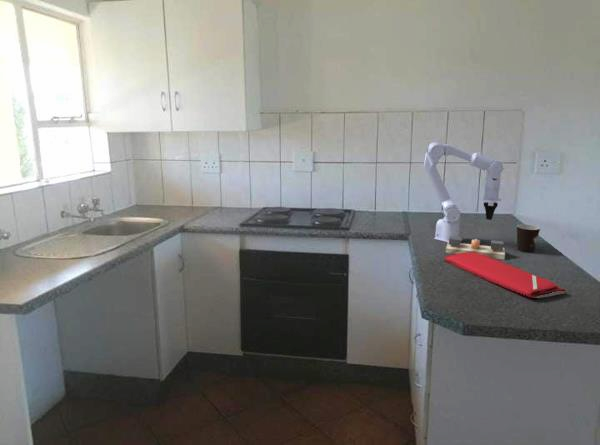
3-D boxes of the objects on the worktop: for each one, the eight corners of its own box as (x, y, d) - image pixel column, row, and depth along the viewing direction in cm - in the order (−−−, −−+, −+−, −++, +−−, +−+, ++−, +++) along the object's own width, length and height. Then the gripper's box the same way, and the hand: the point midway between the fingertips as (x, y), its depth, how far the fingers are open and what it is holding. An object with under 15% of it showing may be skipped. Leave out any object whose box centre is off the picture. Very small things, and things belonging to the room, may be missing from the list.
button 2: (490, 248, 185) (491, 243, 185) (490, 245, 189) (491, 240, 189) (502, 250, 184) (503, 244, 183) (502, 247, 188) (503, 241, 187)
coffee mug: (524, 254, 188) (527, 230, 186) (509, 248, 197) (512, 225, 194) (548, 252, 192) (551, 228, 189) (532, 246, 200) (535, 223, 197)
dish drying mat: (476, 258, 185) (477, 249, 184) (566, 296, 148) (568, 284, 147) (443, 262, 180) (444, 253, 179) (528, 302, 143) (529, 291, 142)
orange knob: (470, 248, 189) (471, 240, 188) (471, 246, 192) (471, 238, 191) (479, 249, 188) (480, 241, 187) (479, 247, 190) (480, 239, 190)
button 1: (448, 244, 191) (449, 238, 190) (449, 241, 195) (450, 236, 194) (460, 245, 189) (460, 239, 189) (460, 242, 193) (461, 237, 193)
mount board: (445, 252, 189) (446, 246, 189) (447, 246, 199) (448, 240, 198) (504, 259, 182) (505, 253, 181) (503, 252, 191) (504, 246, 190)
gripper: (502, 191, 191) (499, 223, 194) (502, 186, 204) (498, 216, 208) (484, 190, 194) (481, 222, 197) (484, 185, 207) (481, 215, 210)
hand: (488, 219), depth 202 cm, fingers closed
